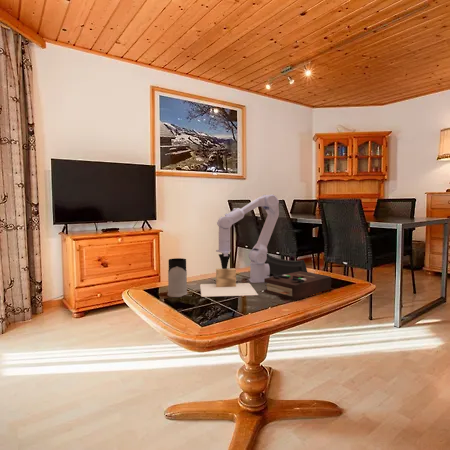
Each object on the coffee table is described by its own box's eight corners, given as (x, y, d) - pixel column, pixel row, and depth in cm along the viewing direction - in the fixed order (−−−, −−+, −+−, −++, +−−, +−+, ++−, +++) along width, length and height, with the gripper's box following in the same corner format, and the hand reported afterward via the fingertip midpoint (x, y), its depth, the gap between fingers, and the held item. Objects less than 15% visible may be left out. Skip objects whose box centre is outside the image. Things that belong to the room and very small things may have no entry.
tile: (235, 285, 157) (235, 268, 157) (235, 286, 154) (235, 269, 154) (216, 285, 156) (216, 268, 156) (216, 287, 153) (216, 269, 153)
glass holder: (166, 297, 137) (166, 261, 137) (169, 288, 152) (168, 256, 151) (187, 296, 138) (187, 261, 137) (188, 288, 152) (188, 256, 152)
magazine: (313, 263, 167) (269, 241, 187) (309, 264, 165) (265, 242, 185) (304, 293, 171) (262, 269, 192) (300, 294, 169) (258, 270, 190)
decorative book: (336, 274, 148) (294, 284, 129) (336, 291, 149) (293, 304, 129) (301, 268, 163) (258, 276, 144) (301, 283, 163) (258, 294, 144)
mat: (249, 283, 161) (249, 283, 161) (258, 295, 139) (258, 295, 139) (200, 285, 159) (200, 284, 159) (201, 297, 137) (201, 296, 137)
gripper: (215, 239, 168) (215, 266, 168) (217, 242, 153) (217, 271, 154) (229, 239, 168) (228, 266, 169) (232, 242, 154) (232, 271, 155)
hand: (224, 268), depth 162 cm, fingers closed
